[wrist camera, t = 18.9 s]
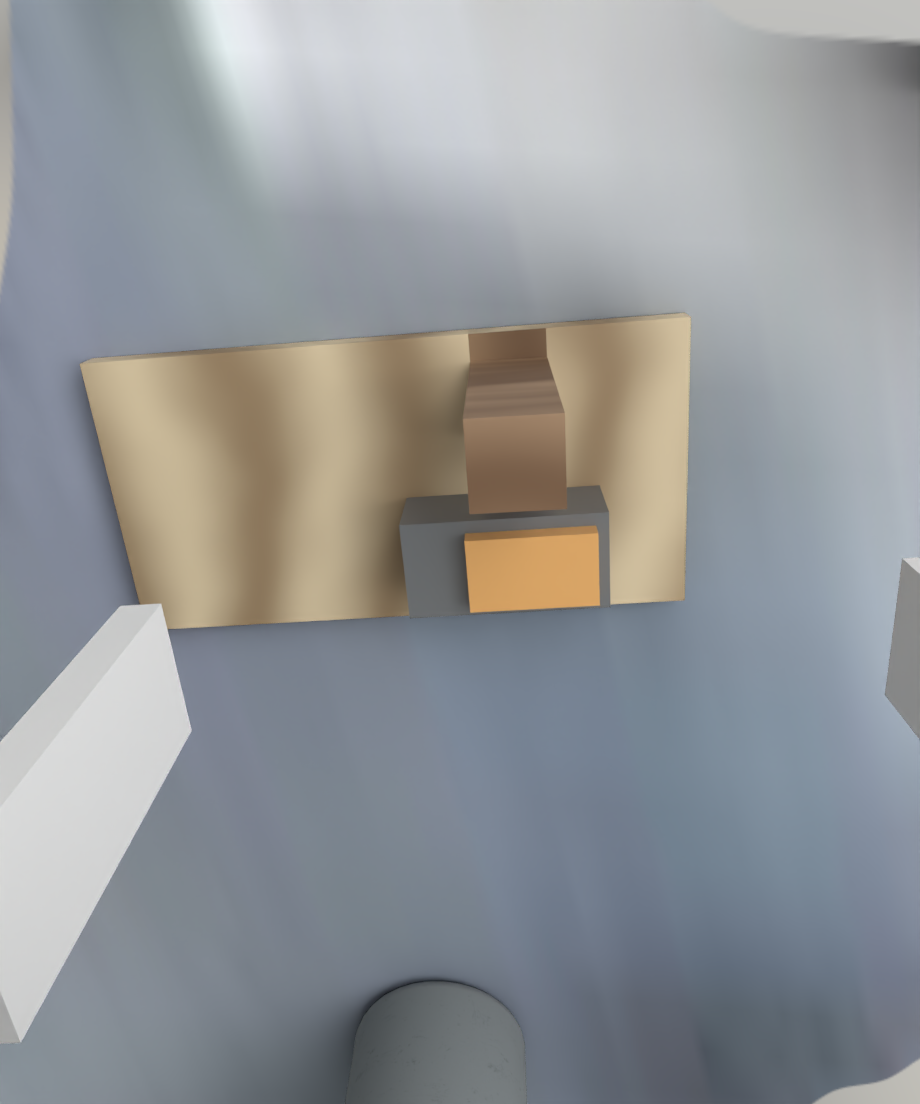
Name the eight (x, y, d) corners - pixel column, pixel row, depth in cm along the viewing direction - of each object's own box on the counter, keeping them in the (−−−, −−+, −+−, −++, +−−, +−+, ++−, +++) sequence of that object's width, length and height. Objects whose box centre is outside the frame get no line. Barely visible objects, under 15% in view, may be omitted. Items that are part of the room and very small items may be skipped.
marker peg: (470, 361, 34) (463, 419, 25) (547, 357, 34) (565, 412, 25) (475, 436, 35) (469, 514, 27) (549, 432, 35) (567, 509, 26)
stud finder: (416, 584, 38) (407, 627, 34) (406, 497, 36) (397, 533, 32) (601, 573, 37) (613, 616, 33) (599, 485, 35) (612, 519, 32)
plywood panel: (156, 618, 40) (146, 630, 39) (92, 358, 35) (79, 363, 34) (679, 588, 38) (684, 600, 37) (684, 312, 34) (691, 316, 33)
